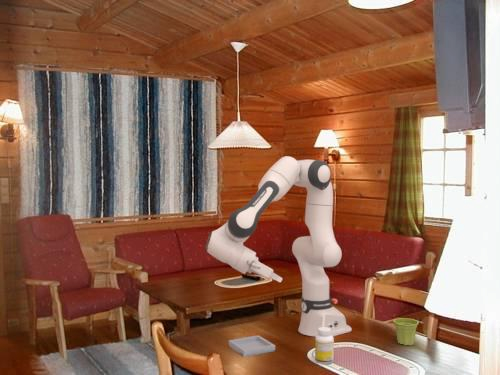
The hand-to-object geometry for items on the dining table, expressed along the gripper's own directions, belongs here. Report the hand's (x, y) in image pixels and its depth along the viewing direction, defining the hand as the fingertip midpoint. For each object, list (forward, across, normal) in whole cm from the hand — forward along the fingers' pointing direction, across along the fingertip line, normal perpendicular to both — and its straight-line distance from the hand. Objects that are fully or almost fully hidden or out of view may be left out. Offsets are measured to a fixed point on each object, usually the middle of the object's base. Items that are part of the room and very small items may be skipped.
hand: (279, 279), depth 196 cm
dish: (+5, +12, +28) cm, 30 cm away
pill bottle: (+27, -3, +18) cm, 33 cm away
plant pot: (+57, +13, -2) cm, 59 cm away
